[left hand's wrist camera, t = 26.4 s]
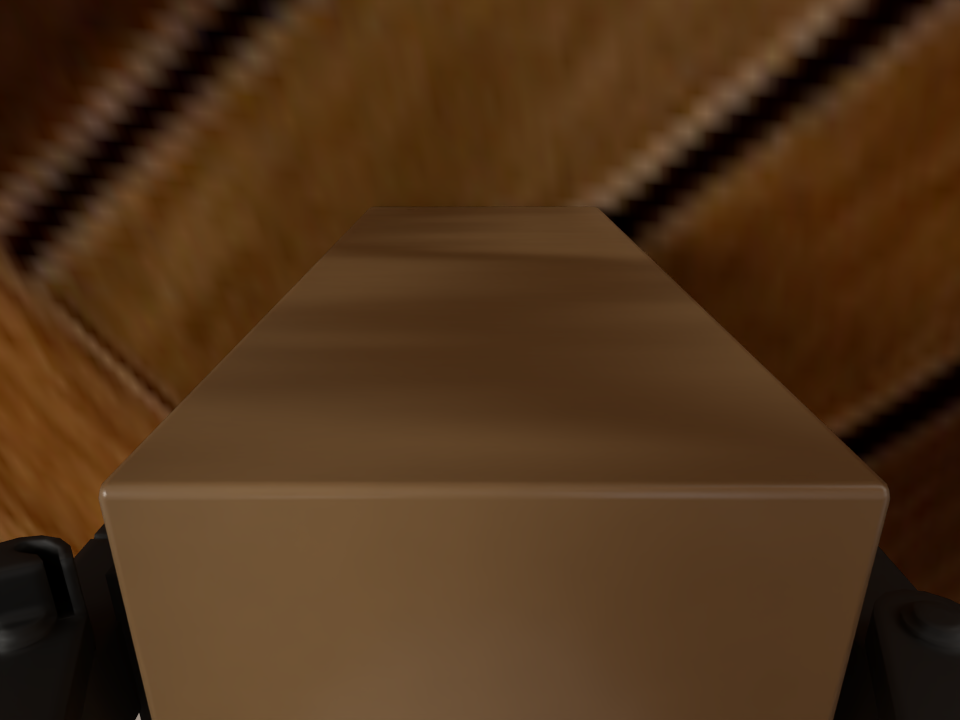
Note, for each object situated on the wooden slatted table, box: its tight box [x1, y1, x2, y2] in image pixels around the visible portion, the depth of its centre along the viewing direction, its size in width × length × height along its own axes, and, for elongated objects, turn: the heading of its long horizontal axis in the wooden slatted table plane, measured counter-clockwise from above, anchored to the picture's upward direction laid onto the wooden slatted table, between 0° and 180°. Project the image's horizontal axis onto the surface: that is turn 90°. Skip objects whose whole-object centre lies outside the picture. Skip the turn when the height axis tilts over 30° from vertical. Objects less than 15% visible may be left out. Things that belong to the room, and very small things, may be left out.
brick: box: [99, 207, 890, 720], centre depth 11 cm, size 5×9×12 cm, turn 0°
